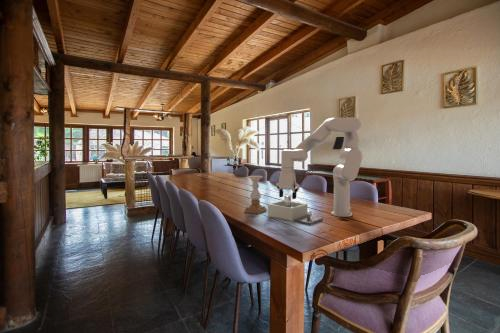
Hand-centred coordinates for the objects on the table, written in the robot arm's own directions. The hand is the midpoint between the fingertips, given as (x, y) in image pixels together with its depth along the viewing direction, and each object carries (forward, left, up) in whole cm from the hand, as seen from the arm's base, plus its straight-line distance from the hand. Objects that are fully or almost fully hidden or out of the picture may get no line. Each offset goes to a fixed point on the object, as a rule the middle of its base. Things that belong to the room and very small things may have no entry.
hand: (287, 197), depth 168 cm
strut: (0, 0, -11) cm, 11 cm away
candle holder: (+3, -24, -12) cm, 27 cm away
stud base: (0, +15, -12) cm, 19 cm away
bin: (0, 0, -12) cm, 12 cm away
